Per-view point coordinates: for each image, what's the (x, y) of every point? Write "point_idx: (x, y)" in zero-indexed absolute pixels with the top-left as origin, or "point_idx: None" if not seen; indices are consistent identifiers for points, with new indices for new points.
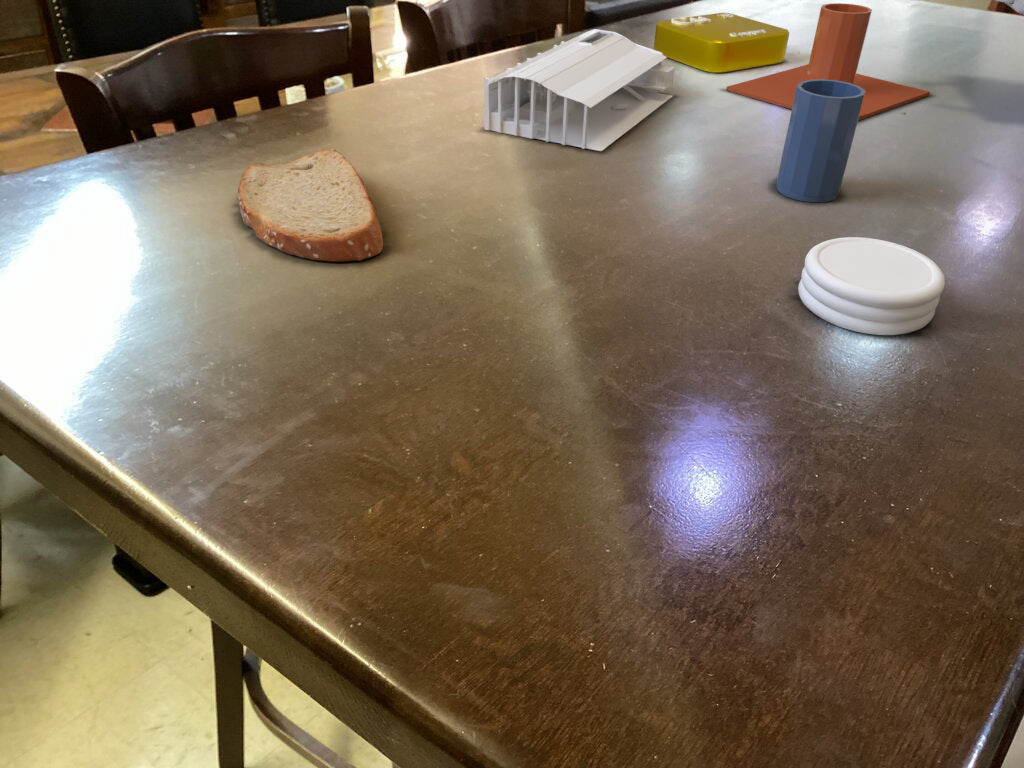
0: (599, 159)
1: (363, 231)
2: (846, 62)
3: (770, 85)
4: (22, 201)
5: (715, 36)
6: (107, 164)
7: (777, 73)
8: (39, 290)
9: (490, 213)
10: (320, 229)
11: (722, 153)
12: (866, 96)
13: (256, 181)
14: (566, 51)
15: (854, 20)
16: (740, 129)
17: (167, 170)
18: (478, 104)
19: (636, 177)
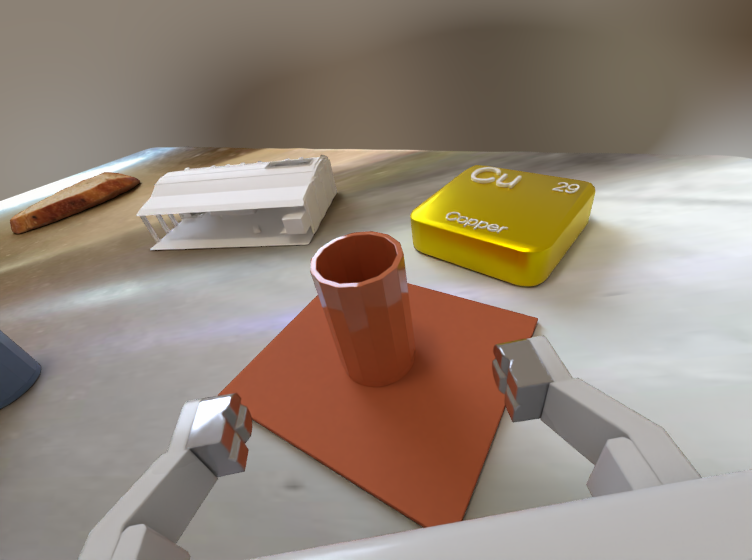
0: (135, 254)
1: (11, 220)
2: (334, 337)
3: None
4: (124, 158)
5: (434, 207)
6: (162, 152)
7: (435, 292)
8: (37, 190)
9: (54, 245)
10: (25, 211)
11: (132, 310)
12: (357, 411)
13: (89, 180)
14: (241, 167)
15: (314, 282)
16: (204, 307)
17: (151, 162)
18: None
19: (90, 278)
